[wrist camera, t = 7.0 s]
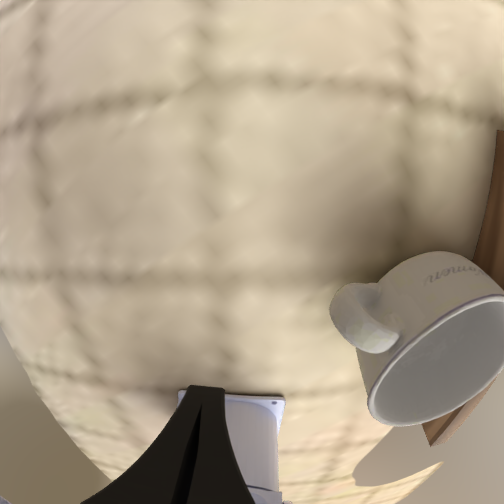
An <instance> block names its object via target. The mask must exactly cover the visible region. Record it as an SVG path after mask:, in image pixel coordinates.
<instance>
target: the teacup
mask: <svg viewBox="0 0 504 504" xmlns="http://www.w3.org/2000/svg"><path fill="white" fill-rule="evenodd" d="M330 316H331V319H332V321H333V323H334V325H335V327H336V328H337V329H338V331H339V332H340V333H341V334H342V336H343V337H344V338H345V339H346V340H347V341H349V342H350V343H351V344H352V345H354V346H355V347H356V352H357V356H358V361H359V365H360V369H361V373H362V377H363V381H364V385H365V388H366V392H367V395H368V398H367V405H368V409H369V411H370V413H371V415H372V416H373V418H375V419H376V420H378V421H379V422H381V423H382V424H386V425H390V426H411V425H415V424H420V423H424V422H428V421H431V420H433V419H436V418H439V417H441V416H443V415H445V414H447V413H449V412H451V411H453V410H455V409H457V408H458V407H460V406H462V405H463V404H465V403H466V402H467V401H469V400H470V399H472V398H473V397H474V396H476V395H477V394H478V393H480V392H481V391H482V390H484V389H485V388H486V387H487V386H488V385H489V384H490V383H491V381H492V380H493V379H494V378H495V377H496V376H497V375H498V374H499V373H500V372H501V370H502V369H503V368H504V291H503V290H502V288H501V287H500V286H499V285H498V284H497V283H496V282H495V281H494V280H493V279H492V278H491V277H490V276H488V275H487V274H486V273H485V272H484V271H483V270H482V269H480V268H479V267H478V266H477V265H476V264H474V263H473V262H472V261H470V260H468V259H467V258H465V257H463V256H461V255H458V254H455V253H451V252H446V251H434V252H427V253H423V254H420V255H417V256H414V257H412V258H409V259H407V260H405V261H403V262H402V263H400V264H398V265H397V266H396V267H394V268H393V269H391V270H390V271H389V272H388V273H387V274H386V275H385V276H383V277H382V278H381V279H380V280H379V282H378V283H368V284H364V283H349V284H346V285H344V286H343V287H342V288H341V289H340V290H338V292H337V293H336V294H335V296H334V298H333V300H332V302H331V305H330Z"/></svg>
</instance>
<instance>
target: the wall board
mask: <svg viewBox="0 0 504 504" xmlns="http://www.w3.org/2000/svg"><path fill="white" fill-rule="evenodd" d="M472 262H473V263H474V264H476V265H477V266H478V267H479V268H480V269H482V270H483V271H484V272H485V273H486V274H487V275H488V276H490V277H491V278H492V279H493V280H494V281H495V282H496V283H497V284H498V285H499V286H500V287H501V288H502V290H503V291H504V131H501V130H497V142H496V152H495V160H494V168H493V175H492V181H491V187H490V193H489V198H488V203H487V208H486V212H485V217H484V221H483V225H482V229H481V233H480V237H479V240H478V244H477V248H476V251H475V254H474V258H473V261H472ZM498 375H499V374H498ZM498 375H497V376H498ZM497 376H496V377H495V378H494V379H493V380H492V381H491V383H490V384H489V385H488V386H487V387H486V388H485V389H484V390H482V391H481V392H480V393H478V394H477V395H476V396H474V397H473V398H472V399H470V400H469V401H467V402H466V403H465V404H463V405H462V406H460V407H458V408H457V409H455V410H453V411H451V412H449V413H447V414H445V415H443V416H441V417H439V418H436V419H433V420H431V421H428V422H424V423H421V424H422V426H423V429H424V431H425V434H426V437H427V439H428V441H429V444H430V447H431V446H434V445H438V444H442V443H445V442H447V441H448V440H449V438H450V437H451V436H452V435H453V434H454V433H455V432H456V431H457V429H458V428H459V427H460V426H461V425H462V424H463V422H464V421H465V420H466V419H467V417H468V416H469V415H470V414H471V412H472V411H473V410H474V409H475V407H476V406H477V404H478V403H479V402H480V400H481V399H482V398H483V396H484V395H485V394H486V392H487V391H488V389H489V388H490V387H491V385H492V384H493V382H494V381H495V379H496V378H497Z"/></svg>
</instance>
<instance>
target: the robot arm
mask: <svg viewBox="0 0 504 504" xmlns="http://www.w3.org/2000/svg"><path fill="white" fill-rule="evenodd" d="M178 398H179V400H178V404H177V408H176V411H175V412H174V414H173V415H172V417H171V418H170V420H169V421H168V423H167V424H166V426H165V427H164V429H163V430H162V431H161V433H160V434H159V435H158V437H157V438H156V439H155V440H154V442H153V443H152V444H151V445H150V447H149V448H148V449H147V450H146V451H145V452H144V453H143V455H142V456H141V457H140V458H139V459H138V460H137V461H136V462H135V463H134V464H133V465H132V466H131V467H130V468H128V469H127V470H126V471H125V472H124V473H123V474H122V475H121V476H119V477H118V478H117V479H116V480H114V481H113V482H112V483H110V484H109V485H108V486H107V487H105V488H104V489H103V490H101V491H99V492H98V493H96V494H95V495H93V496H91V497H90V498H88V499H86V500H85V501H83V502H81V503H80V504H292V502H291V501H283V503H282V492H279V467H278V434H279V429H280V425H281V421H282V416H283V412H284V408H285V403H286V402H285V398H283V397H267V396H243V395H228V394H225V390H224V389H223V388H217V387H206V386H196V385H190V386H188V389H187V390H180V391H179V392H178ZM0 504H12V503H10V502H9V501H7V500H5V499H4V498H3V497H1V496H0Z"/></svg>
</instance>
